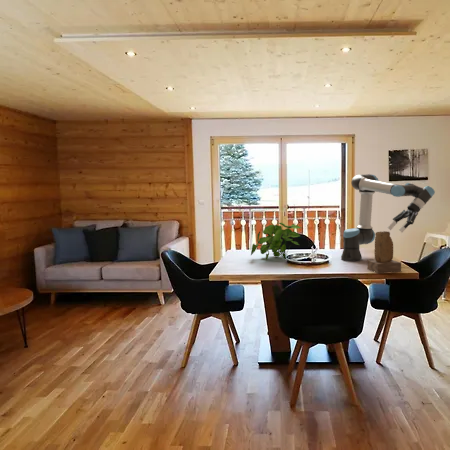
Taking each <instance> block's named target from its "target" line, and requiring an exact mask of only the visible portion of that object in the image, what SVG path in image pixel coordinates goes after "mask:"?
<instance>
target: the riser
mask: <svg viewBox="0 0 450 450" xmlns="http://www.w3.org/2000/svg"><path fill="white" fill-rule="evenodd" d="M366 262H367V270H368V269H369V271H371V270H372V271H371V272H374V271H375V272H374V273H376V272H377V273H376V274H385V273H384V272H391V273H401V272H402V262H399V261H396V260H394V259H392V261H391V262H377V261H376V260H375V259H369V260H367V261H366Z"/></svg>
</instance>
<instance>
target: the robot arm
mask: <svg viewBox="0 0 450 450" xmlns="http://www.w3.org/2000/svg"><path fill="white" fill-rule="evenodd" d="M350 182H351V186H352V188H353V189H354V190H357V191H358V192H359V193H360V201H359V203H360V204H359V216H358V217H359V218H358V220H359V221H358V225H357V226H356V228H354V227H353V228H348V229H345V230H344V231H343V234H342V235H343V251H342V253H341V255H340V256H341V257H340V259H341V260H342V261H346V262H347V261H348V262H358V261H359V262H360V261H362V260H363V256H362V253H361V251H360V246H361V245H369V244H371V243H373V242H374V241H375V237H376V235H375V234H376V232H375V230H374V229H373V226H372V225H371V224H372V210H373V196H374V194H375V193H381V194H387V195H392V196H393V197H395V198H396V197H397V198H400V197H413V199H412V201H411V203H409V204H408V205H407V207H406V208H407V209H406V210H405V209H403V210H402V211H401V212H400V213H398V214H397V215H395V217H393V218H392V220H393V221H392V222H391V223H390V224H389V225H388V227H387V229H388V230H390V231H392V230H393V229H394V227H395V226H396V225H397V224H398V222H400V221H402V220H403V219H406V218H407V220H406V221H405V222H404V223H403V225H402V226H400V228H399V229H398V230H399V231H400V233H404V232H405V230H406V229H407V228H408V226H410V225H413V224H414V223H415V220H416V218H417V216H418V215H419V212H420V211H421V210H422V209H423V208H424V206H425V205H426V204H427V203H428V202H429V200H431V198H432V197H433V196H434V195H435V193H436V191H435V190H434V188H433V187H431V186H430V185H426V186H424V187H421V186H418V185H416V184H413V183H411V182H407V183H405V184H403V185H402V184H396V183H390V182H385V181H379V178H378V177H377V176H376V175H375V174H370V173H369V174H368V173H367V174H357V175H354V176H353V177H352V179H351V181H350Z"/></svg>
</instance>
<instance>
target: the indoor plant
mask: <svg viewBox="0 0 450 450" xmlns="http://www.w3.org/2000/svg"><path fill="white" fill-rule="evenodd" d="M278 224H280V225H277V224H269V225H267V226H266V227H264V229H263V230H262V233H263V235H267V236H262V237H260V233H261V231H259V232H258V233H257V235H256V237H257V239H256V241H257V244H255V243H252V246H251V251H250V252H251V253H250V256H252V255H253V254H254V253H255V252H256V250H257V248H258V246H259V247H260V250H259V251H260V254H261V255H265V261H267V260H268V258H269V256H270V251H269V250H271V251H272V255H273V257H274V256H278V257H281V258H282V259H284V260H285V259H286V258H288V255H287V253H288V251H289V250H290V247H291V246H292V244H294V245H298V246H300V244H299V242H298V241H296V240H294V241H293V239H294V238H298V237H301V235H300V233H298V231H297V232H296V231H295V230H294V231H293V230H292V229H302V227H301V226H299V225H297V224H291V225H286V224H285V223H283V222H278ZM283 227H284V228H285V229H282V228H283ZM290 237H291V238H290ZM283 240H284V241H283ZM282 242H283V244H282ZM287 242H290V243H292V244H291V245H289V246H288V249H287V247H286V245H287ZM286 250H287V251H286ZM267 252H268V253H267Z"/></svg>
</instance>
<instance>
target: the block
mask: <svg viewBox="0 0 450 450" xmlns="http://www.w3.org/2000/svg"><path fill="white" fill-rule="evenodd" d="M374 260H376V261H377V262H391V261H392V260H394V242H393V239H392V237H391V232H390V231H384V230H383V231H376V232H375V239H374Z"/></svg>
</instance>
